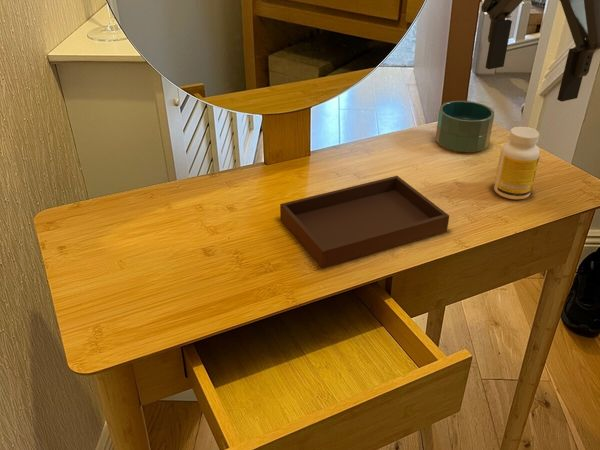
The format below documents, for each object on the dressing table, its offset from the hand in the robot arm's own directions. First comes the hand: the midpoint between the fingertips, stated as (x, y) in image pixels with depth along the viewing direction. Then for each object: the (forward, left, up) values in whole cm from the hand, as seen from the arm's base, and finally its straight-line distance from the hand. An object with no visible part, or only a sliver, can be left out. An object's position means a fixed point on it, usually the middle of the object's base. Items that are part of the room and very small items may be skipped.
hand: (528, 82), depth 85 cm
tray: (+12, +21, -17) cm, 30 cm away
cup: (+13, -12, -17) cm, 25 cm away
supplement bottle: (-1, -1, -17) cm, 17 cm away
